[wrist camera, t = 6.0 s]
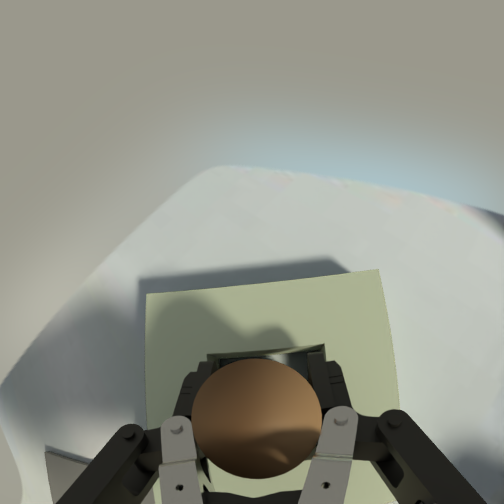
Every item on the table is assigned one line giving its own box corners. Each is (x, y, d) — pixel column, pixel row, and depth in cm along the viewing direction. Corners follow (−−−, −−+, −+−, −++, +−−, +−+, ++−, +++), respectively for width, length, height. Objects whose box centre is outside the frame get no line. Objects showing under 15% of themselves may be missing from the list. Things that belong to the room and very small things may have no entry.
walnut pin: (304, 366, 18) (316, 352, 10) (310, 433, 16) (325, 473, 8) (234, 372, 18) (188, 361, 10) (238, 438, 16) (196, 477, 8)
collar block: (367, 285, 19) (378, 269, 17) (387, 484, 13) (402, 498, 11) (164, 306, 21) (146, 293, 18) (174, 498, 15) (156, 511, 12)
